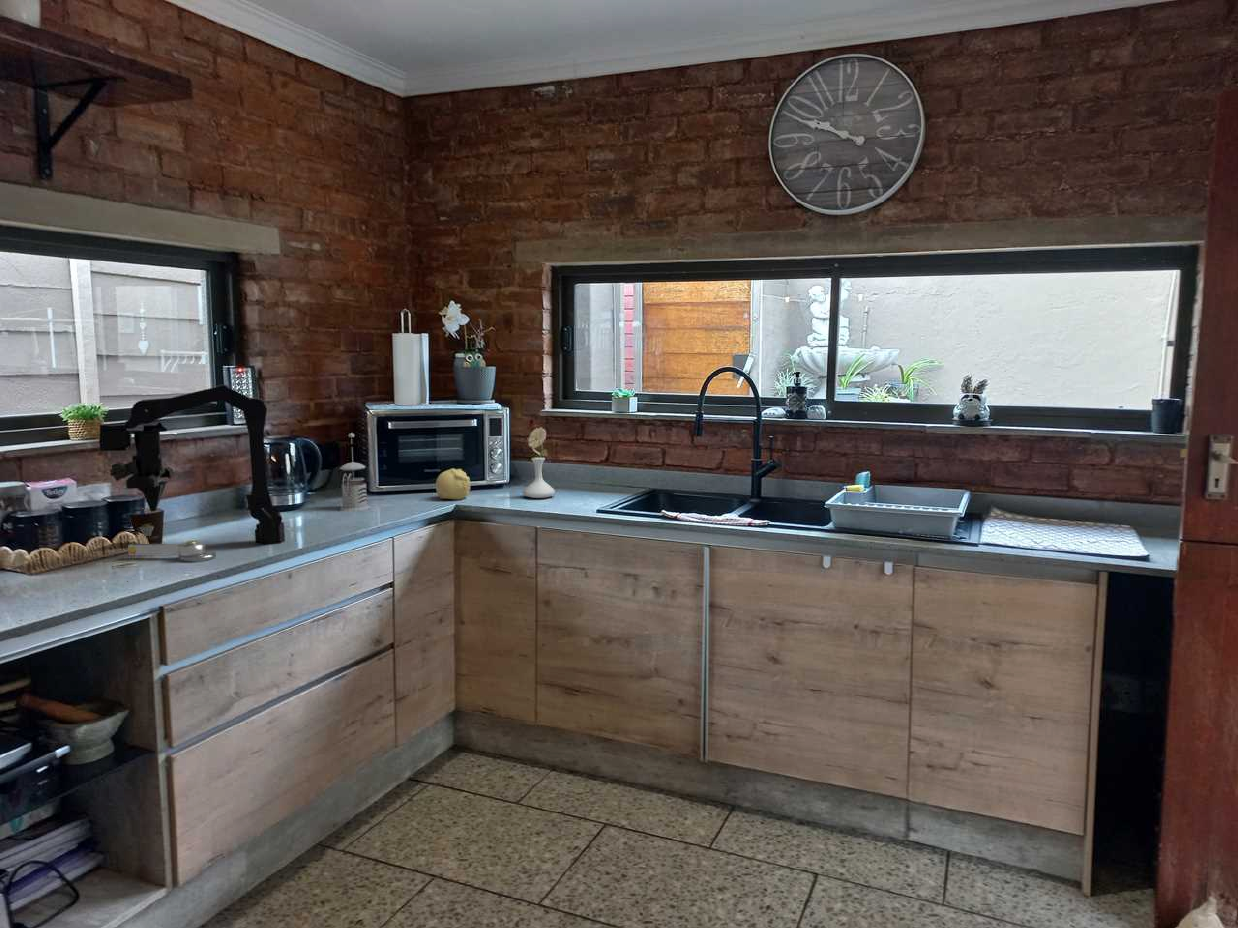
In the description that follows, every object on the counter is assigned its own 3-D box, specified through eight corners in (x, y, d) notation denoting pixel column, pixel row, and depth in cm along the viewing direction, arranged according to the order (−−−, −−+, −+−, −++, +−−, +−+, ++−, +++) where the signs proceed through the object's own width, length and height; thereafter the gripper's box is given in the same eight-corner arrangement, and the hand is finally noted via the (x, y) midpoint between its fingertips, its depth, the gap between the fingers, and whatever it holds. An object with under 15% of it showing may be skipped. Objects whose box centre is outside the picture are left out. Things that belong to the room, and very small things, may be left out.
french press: (374, 505, 291) (371, 431, 288) (361, 512, 280) (357, 435, 276) (346, 505, 292) (343, 431, 289) (332, 511, 280) (328, 435, 277)
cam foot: (221, 554, 219) (220, 538, 218) (205, 562, 211) (204, 545, 210) (139, 554, 219) (138, 538, 219) (120, 562, 211) (119, 545, 211)
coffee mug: (172, 543, 236) (169, 507, 235) (157, 551, 227) (154, 513, 226) (129, 544, 236) (126, 508, 234) (112, 551, 227) (108, 514, 226)
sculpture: (472, 500, 299) (471, 469, 298) (436, 502, 297) (435, 471, 295) (470, 495, 310) (469, 465, 309) (436, 496, 308) (434, 466, 306)
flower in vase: (518, 496, 308) (516, 426, 305) (548, 493, 313) (547, 424, 309) (530, 501, 296) (529, 429, 293) (561, 499, 301) (560, 427, 298)
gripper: (125, 447, 225) (130, 506, 227) (99, 455, 207) (105, 519, 209) (171, 445, 227) (176, 504, 229) (150, 453, 209) (156, 517, 211)
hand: (153, 511), depth 220 cm, fingers closed
